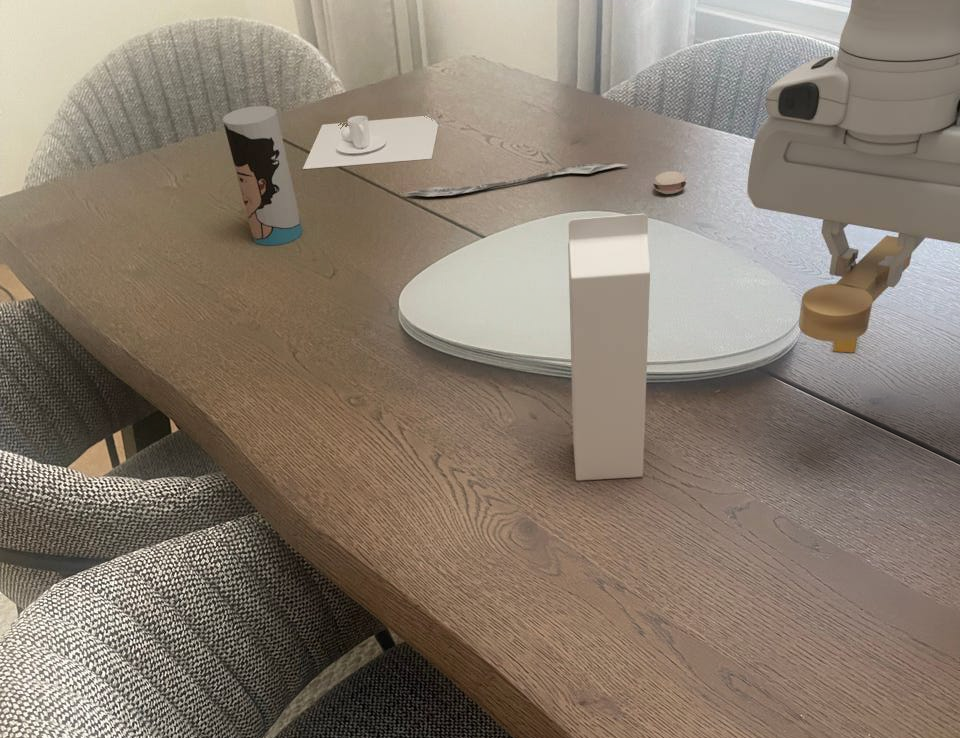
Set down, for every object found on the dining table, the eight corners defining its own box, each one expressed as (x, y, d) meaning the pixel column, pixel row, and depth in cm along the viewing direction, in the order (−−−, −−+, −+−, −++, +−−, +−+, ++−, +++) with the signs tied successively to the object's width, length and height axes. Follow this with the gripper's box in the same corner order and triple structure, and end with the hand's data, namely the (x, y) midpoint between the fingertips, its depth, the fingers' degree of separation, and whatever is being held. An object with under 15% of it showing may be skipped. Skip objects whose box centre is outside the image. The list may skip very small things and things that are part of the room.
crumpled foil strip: (403, 194, 137) (408, 207, 133) (402, 190, 136) (407, 202, 133) (620, 156, 140) (631, 168, 136) (620, 152, 139) (631, 164, 136)
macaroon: (658, 199, 128) (659, 180, 126) (646, 186, 132) (647, 167, 130) (689, 194, 128) (690, 174, 127) (676, 181, 132) (677, 161, 130)
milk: (573, 444, 91) (565, 203, 75) (638, 439, 90) (644, 196, 75) (575, 482, 86) (568, 235, 71) (644, 478, 86) (652, 229, 70)
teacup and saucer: (341, 138, 156) (336, 111, 153) (389, 134, 156) (385, 106, 153) (333, 158, 150) (327, 130, 147) (383, 154, 149) (379, 125, 147)
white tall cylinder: (270, 222, 135) (242, 104, 124) (311, 226, 132) (286, 107, 122) (243, 243, 130) (212, 123, 120) (285, 247, 128) (257, 125, 117)
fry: (853, 353, 97) (857, 334, 96) (833, 351, 98) (836, 333, 96) (859, 306, 104) (863, 288, 102) (840, 304, 104) (843, 287, 103)
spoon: (865, 257, 84) (870, 231, 82) (926, 268, 81) (932, 243, 80) (786, 332, 76) (790, 306, 75) (850, 348, 74) (855, 321, 72)
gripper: (1072, 89, 64) (1013, 288, 74) (785, 62, 75) (766, 240, 84) (1041, 121, 61) (984, 324, 71) (746, 88, 71) (731, 270, 81)
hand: (863, 278), depth 78 cm, fingers closed on spoon, 2 cm apart
